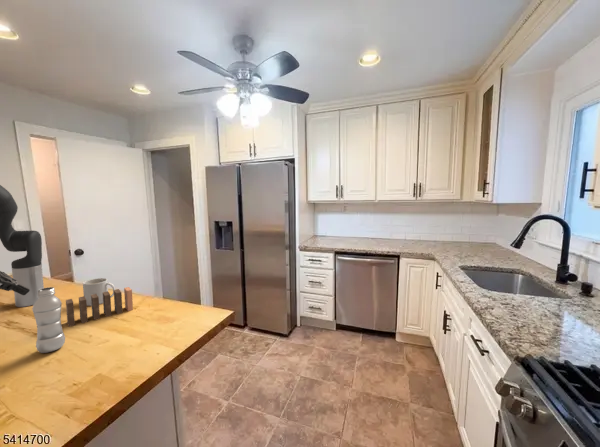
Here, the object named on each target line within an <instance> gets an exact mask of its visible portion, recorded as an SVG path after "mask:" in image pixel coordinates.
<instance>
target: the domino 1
mask: <svg viewBox="0 0 600 447" xmlns="http://www.w3.org/2000/svg"><path fill="white" fill-rule="evenodd" d="M65 308H66V321H67V322H66V323H67V326H68V328H69V327H73V326H76V323H75V322H76V320H75V310H74V309H75V308H74V301H73V298H68V299H65Z"/></svg>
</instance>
